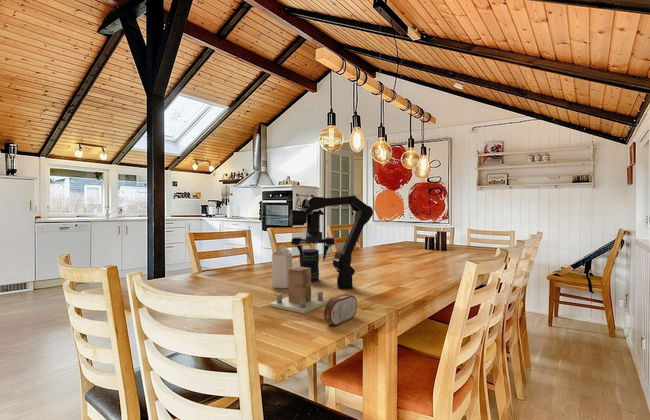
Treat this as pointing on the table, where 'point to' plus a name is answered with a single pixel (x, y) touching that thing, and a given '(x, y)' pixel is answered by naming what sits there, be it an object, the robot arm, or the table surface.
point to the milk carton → (281, 267)
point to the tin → (340, 309)
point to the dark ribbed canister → (311, 262)
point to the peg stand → (301, 307)
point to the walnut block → (299, 284)
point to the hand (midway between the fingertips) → (313, 260)
